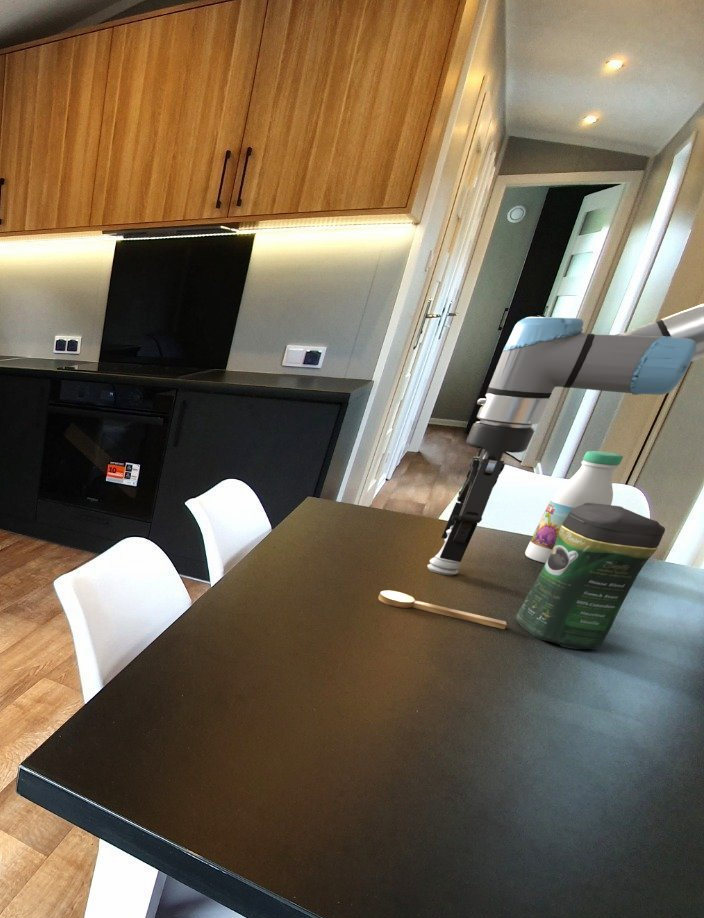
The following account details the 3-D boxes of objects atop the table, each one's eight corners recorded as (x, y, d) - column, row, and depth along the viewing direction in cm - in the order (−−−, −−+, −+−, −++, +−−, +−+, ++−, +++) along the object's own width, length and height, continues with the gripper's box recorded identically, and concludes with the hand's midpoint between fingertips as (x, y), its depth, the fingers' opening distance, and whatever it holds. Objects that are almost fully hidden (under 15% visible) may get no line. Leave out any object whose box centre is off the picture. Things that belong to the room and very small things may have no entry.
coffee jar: (610, 656, 84) (688, 523, 76) (536, 645, 87) (605, 514, 79) (571, 626, 92) (637, 503, 84) (504, 616, 95) (563, 495, 87)
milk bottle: (573, 559, 119) (628, 452, 110) (585, 571, 113) (644, 460, 104) (519, 550, 123) (569, 446, 114) (528, 562, 117) (581, 453, 108)
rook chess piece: (459, 571, 111) (478, 528, 108) (456, 578, 108) (476, 534, 105) (427, 564, 114) (445, 522, 110) (424, 571, 111) (442, 527, 107)
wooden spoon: (503, 622, 93) (506, 616, 92) (505, 633, 90) (508, 627, 89) (379, 593, 101) (381, 587, 101) (377, 602, 98) (379, 596, 98)
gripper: (473, 412, 111) (426, 527, 120) (476, 429, 93) (420, 562, 102) (529, 418, 107) (476, 536, 116) (544, 437, 89) (480, 575, 98)
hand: (450, 549), depth 109 cm, fingers open, 13 cm apart
